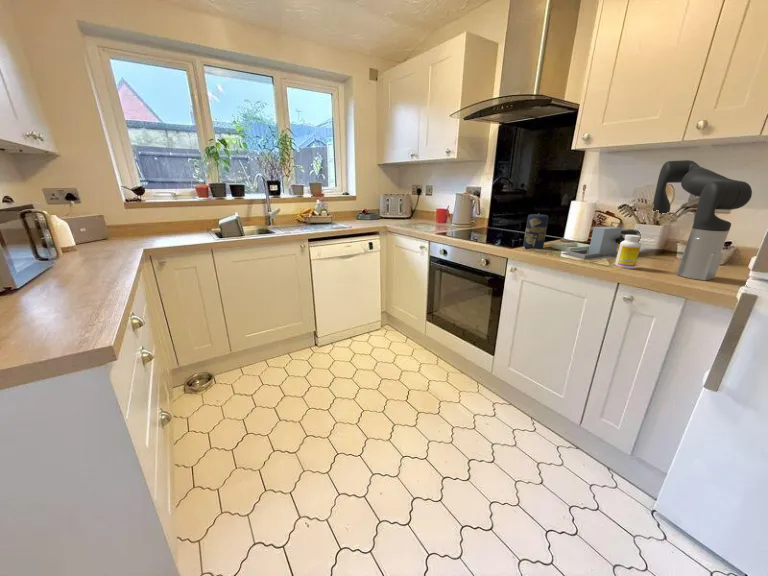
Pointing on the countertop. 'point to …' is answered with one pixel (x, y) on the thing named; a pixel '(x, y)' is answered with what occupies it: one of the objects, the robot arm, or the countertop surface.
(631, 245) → the supplement bottle
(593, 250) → the grey block
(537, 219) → the canister
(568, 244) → the tray
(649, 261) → the countertop surface
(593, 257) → the printer bay
